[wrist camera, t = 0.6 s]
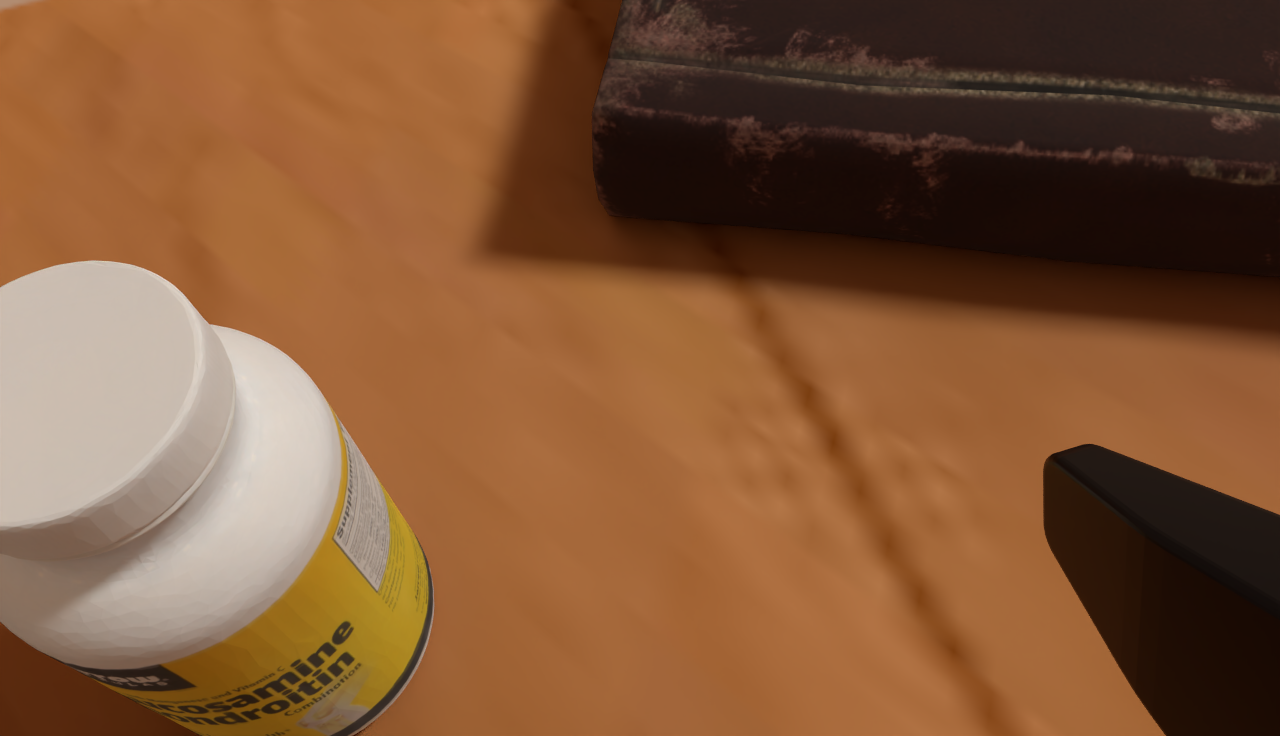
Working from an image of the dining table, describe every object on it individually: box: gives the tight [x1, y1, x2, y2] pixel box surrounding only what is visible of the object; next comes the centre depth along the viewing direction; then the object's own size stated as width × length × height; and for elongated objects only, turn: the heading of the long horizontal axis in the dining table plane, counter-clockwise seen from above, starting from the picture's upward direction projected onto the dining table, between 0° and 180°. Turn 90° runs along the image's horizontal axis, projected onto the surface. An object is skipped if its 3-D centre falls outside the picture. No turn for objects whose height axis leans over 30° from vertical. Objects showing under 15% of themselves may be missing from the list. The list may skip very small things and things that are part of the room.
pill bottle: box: [0, 261, 434, 736], centre depth 21 cm, size 6×6×12 cm
